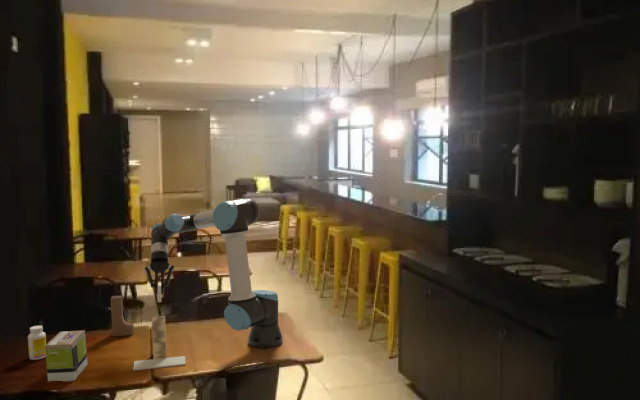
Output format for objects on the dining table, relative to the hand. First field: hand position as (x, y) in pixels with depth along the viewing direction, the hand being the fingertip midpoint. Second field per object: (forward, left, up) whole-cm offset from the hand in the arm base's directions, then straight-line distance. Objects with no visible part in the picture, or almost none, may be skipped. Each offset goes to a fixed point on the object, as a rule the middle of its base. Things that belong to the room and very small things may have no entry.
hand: (159, 300), depth 236 cm
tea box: (+34, +19, -21) cm, 44 cm away
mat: (0, +19, -21) cm, 28 cm away
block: (0, +11, -21) cm, 23 cm away
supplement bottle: (+49, -2, -21) cm, 54 cm away
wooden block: (+17, -21, -21) cm, 35 cm away
